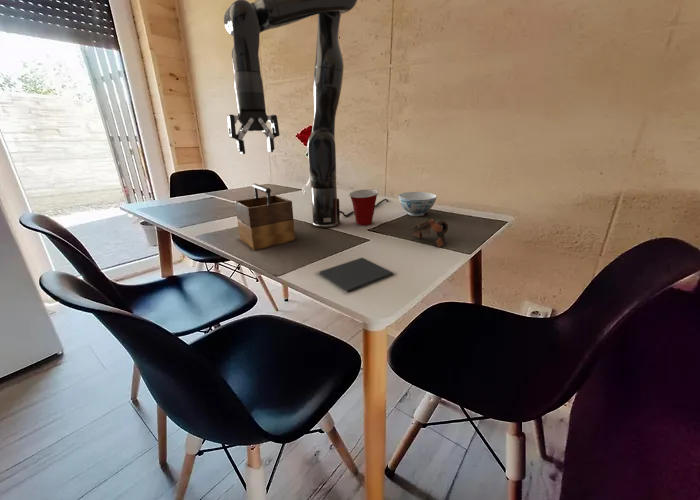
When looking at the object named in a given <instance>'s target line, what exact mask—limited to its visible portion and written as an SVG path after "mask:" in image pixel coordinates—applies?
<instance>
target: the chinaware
mask: <svg viewBox="0 0 700 500" xmlns="http://www.w3.org/2000/svg"><path fill="white" fill-rule="evenodd" d="M398 200H399V203H400V205H401V207H402V209H404V210H405V211H406V212H407V214H408V215H409V216H411V217H422V216H425V213H427V212H429V210H431V209H432V208H433V206H434V205H435V203H436V200H437V195H436V194H434V193H431V192H426V191H406V192H400V193H399V194H398Z"/></svg>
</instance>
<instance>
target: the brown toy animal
mask: <svg viewBox="0 0 700 500" xmlns="http://www.w3.org/2000/svg"><path fill="white" fill-rule="evenodd" d="M431 229H432V230H433V231H434V232H435V233H436V235H437V237H438V239H436V240H435V244H436V246H437V248H440V247H442V246H443V245H445V244H446V238H445V237H446V236H445V234H447V232H448V229H449V224H448V223H447V222H446V221H445V220H440V221H438V222H436V221H435V219H433V218H432V219H428V220H425V221H423V222H421V223H420V224H419V226H418V225H416V226H414V227H413V228H412V231H413V233H412V236H413V238H415V237H417V238H418V239H421V238H422V237H423V234H426V235H430V234H431V231H430V230H431Z"/></svg>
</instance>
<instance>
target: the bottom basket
mask: <svg viewBox="0 0 700 500" xmlns="http://www.w3.org/2000/svg"><path fill="white" fill-rule="evenodd" d="M236 221H237V226H238V227H237V228H238V233H239V239H240V241H241V242H242V243H244V244H245V245H246V246H247V247H249V248H250V249H251V250H253V251H257V250H261V249H265V248H269V247H274V246H277V245H281V244H285V243H290V242H293V241H296V231H295V222H294V219H293V220H289V221H284V222H279V223H274V224H269V225H264V226H260V227H255V228H250V227H248V226H247V225H245V224H244V223H242V222H240V221H239V220H237V219H236Z"/></svg>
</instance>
